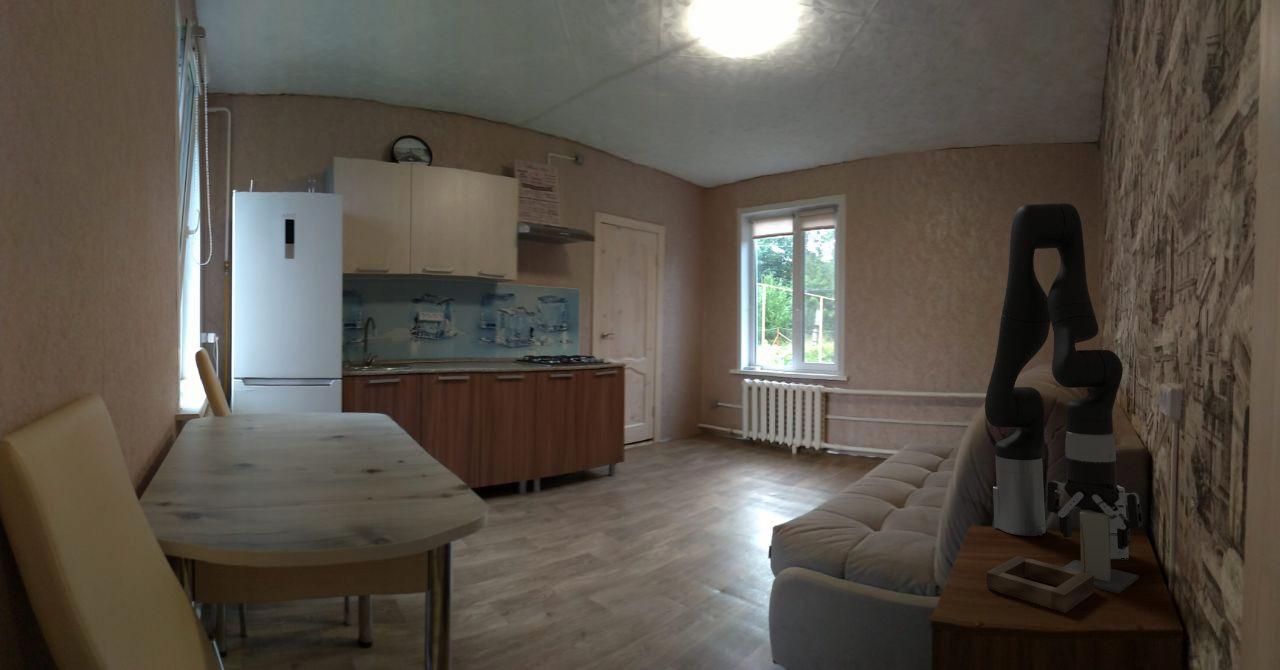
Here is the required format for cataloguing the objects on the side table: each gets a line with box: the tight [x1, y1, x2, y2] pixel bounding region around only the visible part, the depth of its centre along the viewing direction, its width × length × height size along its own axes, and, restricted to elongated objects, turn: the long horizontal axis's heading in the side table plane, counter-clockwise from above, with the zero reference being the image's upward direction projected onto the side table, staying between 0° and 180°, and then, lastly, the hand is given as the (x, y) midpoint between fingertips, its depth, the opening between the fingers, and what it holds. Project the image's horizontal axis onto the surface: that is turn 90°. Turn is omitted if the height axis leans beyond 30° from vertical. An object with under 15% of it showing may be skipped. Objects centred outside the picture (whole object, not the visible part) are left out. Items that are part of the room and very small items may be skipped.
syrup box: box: [1109, 484, 1130, 560], centre depth 121 cm, size 6×6×14 cm
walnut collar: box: [985, 555, 1095, 614], centre depth 106 cm, size 12×12×3 cm
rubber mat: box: [1063, 559, 1139, 595], centre depth 111 cm, size 10×10×1 cm
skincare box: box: [1079, 507, 1112, 582], centre depth 111 cm, size 6×4×12 cm
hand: (1094, 542), depth 111 cm, fingers open, 8 cm apart
